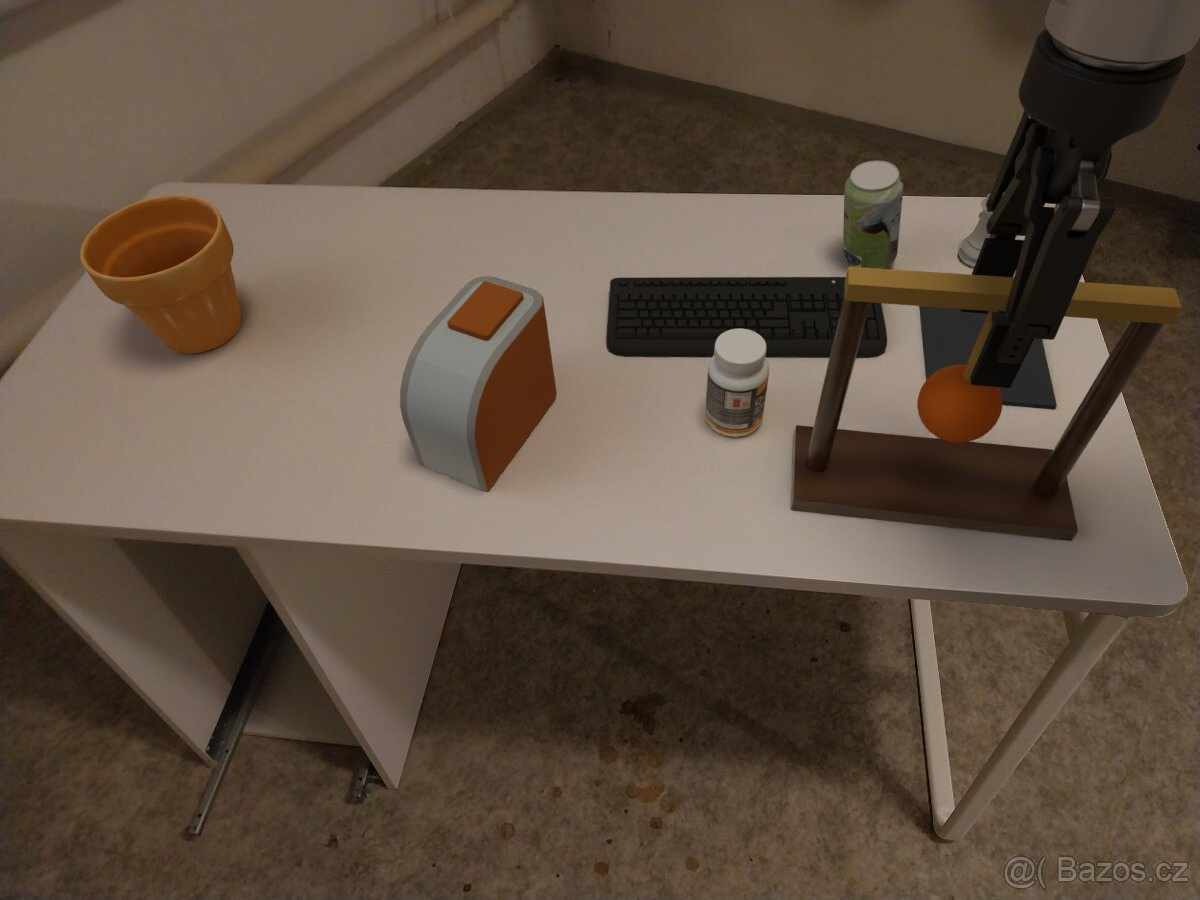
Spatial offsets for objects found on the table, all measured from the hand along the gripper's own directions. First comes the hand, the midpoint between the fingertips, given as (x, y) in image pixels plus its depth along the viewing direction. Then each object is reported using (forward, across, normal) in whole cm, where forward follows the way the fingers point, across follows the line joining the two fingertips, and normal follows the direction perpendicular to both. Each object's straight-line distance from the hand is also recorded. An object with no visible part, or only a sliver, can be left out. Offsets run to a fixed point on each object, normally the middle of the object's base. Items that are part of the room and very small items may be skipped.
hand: (984, 344), depth 63 cm
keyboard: (+18, -20, -18) cm, 32 cm away
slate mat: (+18, -20, +7) cm, 28 cm away
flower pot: (+18, -12, -79) cm, 82 cm away
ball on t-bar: (+10, 0, 0) cm, 10 cm away
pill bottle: (+18, -6, -18) cm, 26 cm away
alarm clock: (+18, -2, -42) cm, 46 cm away
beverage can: (+18, -32, -5) cm, 37 cm away
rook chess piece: (+18, -34, +8) cm, 39 cm away
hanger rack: (+18, 0, 0) cm, 18 cm away
